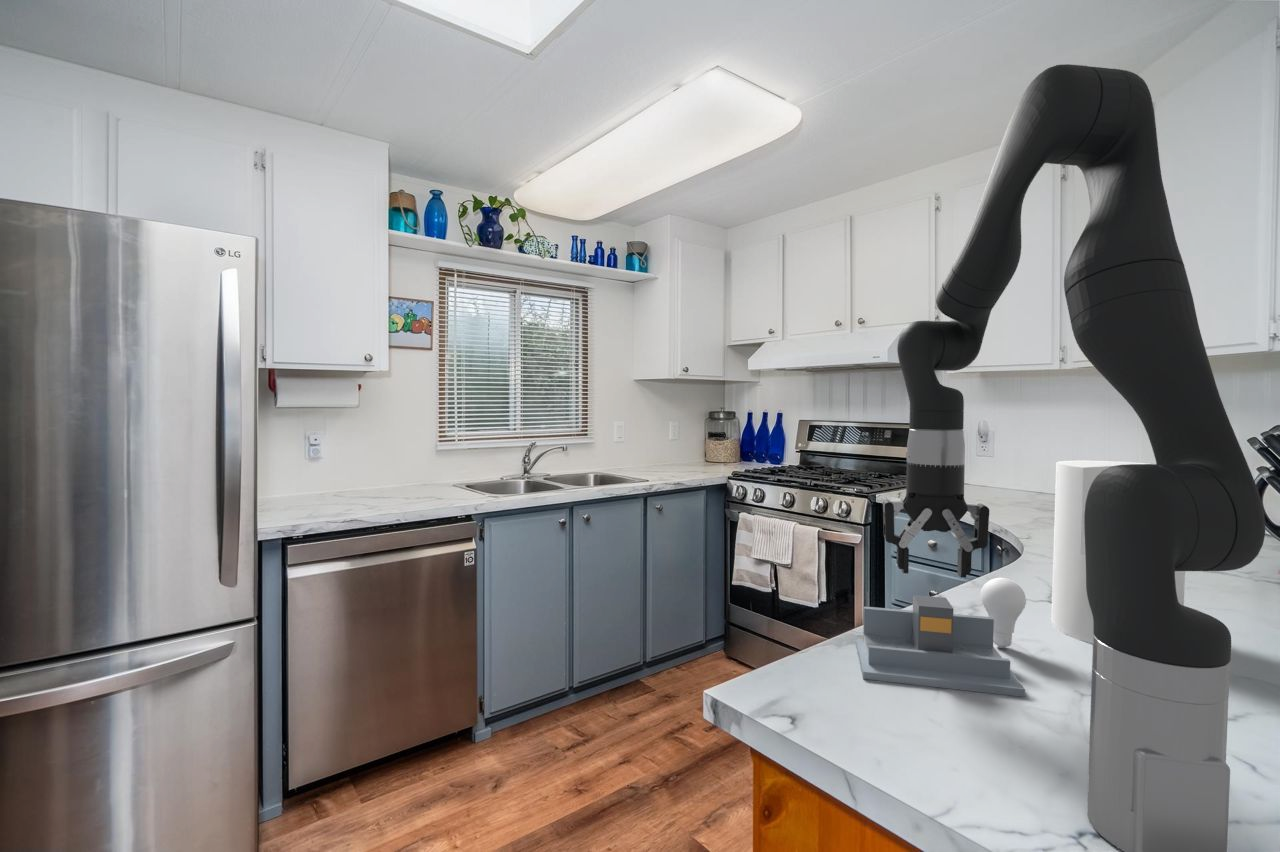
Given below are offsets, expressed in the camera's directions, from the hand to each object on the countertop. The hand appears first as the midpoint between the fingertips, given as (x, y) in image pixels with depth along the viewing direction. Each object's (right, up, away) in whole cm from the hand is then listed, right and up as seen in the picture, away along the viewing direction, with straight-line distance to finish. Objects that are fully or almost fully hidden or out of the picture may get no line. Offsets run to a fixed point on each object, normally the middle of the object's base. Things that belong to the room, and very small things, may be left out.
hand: (933, 573), depth 89 cm
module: (0, -11, +1) cm, 11 cm away
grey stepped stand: (0, -14, 0) cm, 14 cm away
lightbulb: (+14, -14, +7) cm, 21 cm away
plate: (0, -13, +1) cm, 13 cm away
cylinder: (+37, -13, +14) cm, 41 cm away
